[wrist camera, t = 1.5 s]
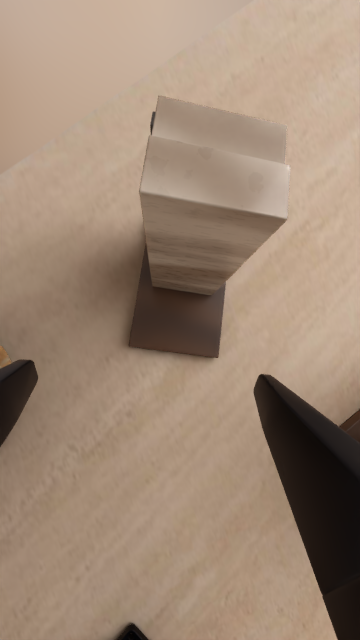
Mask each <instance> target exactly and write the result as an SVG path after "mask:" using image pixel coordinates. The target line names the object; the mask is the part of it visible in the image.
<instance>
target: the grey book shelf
mask: <svg viewBox="0 0 360 640" xmlns="http://www.w3.org/2000/svg"><path fill="white" fill-rule="evenodd" d="M340 428H341V429H342V430H344V431H345V432H346V433H348V434H349V435H350V436H352V437H353V438H354V439H355V440H357V441H358V442H359V443H360V410H359V411H358V412H357V413H355V414H354V415H353V416H352V417H351V418H350V419H348V420H347V421H346V422H345V423H344V424H343V425H341V426H340Z"/></svg>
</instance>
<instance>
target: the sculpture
mask: <svg viewBox="0 0 360 640" xmlns="http://www.w3.org/2000/svg"><path fill="white" fill-rule="evenodd" d="M9 364H11V361H10V359H9V356H8V354H7V353H6V351H5V350H4V348H3V347H2V346H0V368H2V367H5V366H7V365H9Z"/></svg>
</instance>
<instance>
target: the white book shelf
mask: <svg viewBox="0 0 360 640" xmlns="http://www.w3.org/2000/svg"><path fill="white" fill-rule="evenodd" d="M150 128H151V135H150V136H149V138H148V144H147V149H146V155H145V161H144V166H143V172H142V177H141V183H140V188H139V194H140V201H141V208H142V216H143V223H144V230H145V237H146V246H145V252H144V258H143V264H142V270H141V276H140V282H139V288H138V294H137V300H136V306H135V312H134V318H133V324H132V330H131V336H130V342H129V346H131V347H139V348H146V349H154V350H162V351H169V352H177V353H185V354H192V355H200V356H208V357H216V358H218V355H219V345H220V335H221V325H222V315H223V305H224V295H225V285H226V281H227V280H228V279H229V278H230V277H231V276H232V275H233V274H234V273H235V272H236V271H237V270H238V269H239V268H240V267H241V266H242V265H243V264H244V263H245V262H246V261H247V260H248V259H249V258H250V257H251V256H252V255H253V254H254V253H255V252H256V251H257V250H258V249H259V248H260V247H261V246H262V245H263V244H264V243H265V242H266V241H267V240H268V239H269V238H270V237H271V236H272V235H273V234H274V233H275V232H276V231H277V230H278V229H279V228H280V227H281V226H282V225H283V224H284V223H285V222H286V221H287V219H288V204H289V186H290V167H291V166H290V165H288V164H285V157H286V140H287V125H285V124H281V123H276V122H272V121H268V120H263V119H259V118H255V117H250V116H246V115H242V114H237V113H233V112H229V111H224V110H220V109H216V108H211V107H207V106H203V105H198V104H194V103H190V102H185V101H181V100H176V99H172V98H168V97H163V96H158V101H157V107H156V112H153V113H152V119H151V124H150Z"/></svg>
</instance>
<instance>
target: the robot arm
mask: <svg viewBox="0 0 360 640" xmlns="http://www.w3.org/2000/svg"><path fill="white" fill-rule="evenodd" d="M37 380H38V375H37V371H36V368H35V365H34V362H33V361H32V360H18V361H15V362H13V363H11V364H9V365H7V366H5V367H2V368H0V447H1V445H2V444H3V442H4V441H5V439H6V437H7V436H8V434H9V433H10V431H11V430H12V428H13V426H14V425H15V423H16V422H17V420H18V418H19V416H20V414H21V412H22V410H23V409H24V407H25V405H26V403H27V401H28V399H29V397H30V395H31V393H32V391H33V389H34V387H35V385H36V383H37ZM254 396H255V400H256V404H257V408H258V412H259V416H260V420H261V424H262V428H263V431H264V434H265V437H266V440H267V443H268V446H269V448H270V451H271V454H272V457H273V459H274V462H275V465H276V468H277V471H278V473H279V476H280V479H281V482H282V485H283V487H284V490H285V493H286V496H287V499H288V501H289V504H290V507H291V510H292V513H293V515H294V518H295V521H296V524H297V527H298V529H299V532H300V535H301V538H302V541H303V543H304V546H305V549H306V552H307V555H308V557H309V560H310V563H311V566H312V568H313V571H314V574H315V577H316V580H317V582H318V585H319V588H320V591H321V593H322V595H323V596H322V597H323V600H324V603H325V605H326V608H327V611H328V614H329V617H330V619H331V622H332V625H333V628H334V631H335V633H336V636H337V639H338V640H360V443H359V442H358V441H357V440H355V439H354V438H353V437H352V436H350V435H349V434H348V433H346V432H345V431H344V430H342V429H341V428H340V427H338V426H337V425H336V424H334V423H333V422H332V421H330V420H329V419H328V418H326V417H325V416H324V415H323V414H321V413H320V412H319V411H317V410H316V409H315V408H313V407H312V406H311V405H309V404H308V403H307V402H305V401H304V400H303V399H301V398H300V397H299V396H297V395H296V394H295V393H294V392H292V391H291V390H290V389H288V388H287V387H286V386H284V385H283V384H282V383H280V382H279V381H278V380H276V379H275V378H274V377H272V376H271V375H266V374H261V375H259V377H258V379H257V382H256V384H255V387H254ZM131 633H132V634H131ZM118 640H148V639H147V638H146V637H145V635H144V634H143V633H142V632H141V631H140V630H139V629H138V628H137V627H136V626H135V625H134V624H131V625H129V626H128V627H127V628H126V630H125V631H124V632H123V633H122V635H121V636H120V637H119V638H118Z"/></svg>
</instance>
